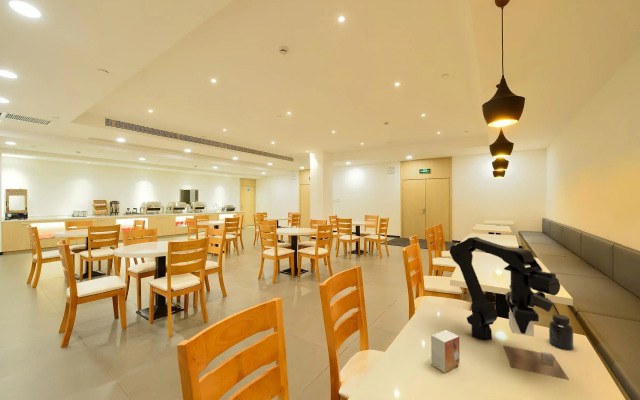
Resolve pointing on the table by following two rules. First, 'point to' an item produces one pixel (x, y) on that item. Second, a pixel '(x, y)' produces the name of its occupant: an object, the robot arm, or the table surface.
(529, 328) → the white carton
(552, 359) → the upright wooden block
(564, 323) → the supplement bottle
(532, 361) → the base plate
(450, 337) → the small box
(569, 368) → the table surface
